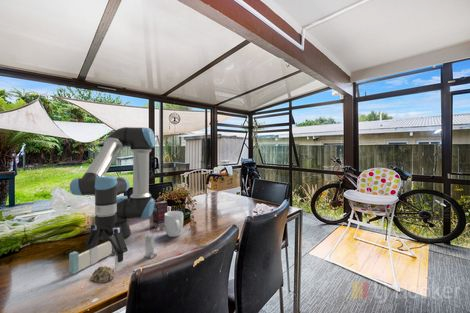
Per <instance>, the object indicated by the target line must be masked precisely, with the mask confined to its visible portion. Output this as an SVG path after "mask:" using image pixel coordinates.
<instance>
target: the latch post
mask: <svg viewBox="0 0 470 313" xmlns="http://www.w3.org/2000/svg"><path fill="white" fill-rule="evenodd" d="M154 240H155V239H154V235H146V236H145V255H143V257H144V258H145V259H149V260H152V259H154V258H155V257H156V256H157V254H156V253H154V252H155V251H154V249H155V248H154V244H155V243H154Z"/></svg>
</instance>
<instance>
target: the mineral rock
mask: <svg viewBox="0 0 470 313" xmlns="http://www.w3.org/2000/svg"><path fill="white" fill-rule="evenodd" d="M114 273H115V269H112V268H111V267H109V266H106V265H105V266H99V267H98V268H96V269H94V271H93V273H92V274H91V276H90V281H92V282H95V283H101V284H103V283H108V282H112V280H113V279H114V277H115V276H114Z"/></svg>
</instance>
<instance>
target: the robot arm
mask: <svg viewBox="0 0 470 313" xmlns="http://www.w3.org/2000/svg"><path fill="white" fill-rule="evenodd" d="M155 146H156V136H155V133H154V130H152V128H150V127H130V126H129V127H126V126H125V127H119V128H118V129H115V130H114V131H112V132H111V133H110V134H109V135H107V137H106V138H105V139H104V140H103V146H102V147H101V149H100V150H99V151H98V153H97V154H96V156H95V157H94V159H93V161H91V164H90V165H89V166H88V168H87V169H86V171H85V172H84V174H83V175H82V177H77V178H74V179H72V180H71V182H70V183H69V191H70V193H71V194H72V195H74V196H94V214H95V216H94V224H92V225H91V226H90V231H89V234H88V236H87V239H86V242H85V244H84V245H85V247H88V249H89V250H90V265H89V266H92V265H94V264H96V263H98V262H99V261H98V243H99V242H100V240H101V241H102V242H104V243H105V242H107V241H110V242H111V246H113V248H114V250H115V251H116V253H117V254H115V256H114V272H118V271H119V270H122V269H123V261H124V253H126V252H128V251H129V250H128V245H127V243H126V241H125V240H126V239H127V238H129V237H130V236H131V234H132V232H131V231H132V230H131V229H130V224H129V222H128V220H136V219H137V220H139V219H141V220H142V219H149V218H150V217H152V216H153V210H154V204H155V203H156V200H155V199H154V198H153V197H152V194H151V193H150V191H149V188H150V186H149V185H150V184H149V183H150V180H149V179H150V153H151V152H152V150H153V148H155ZM123 148H130V151H131V152H132V153H133V154H132V155H133V156H132V161H133V162H132V163H133V164H132V166H133V168H132V169H133V170H132V194H131V195H130V196H129V198H128V196H127V195H122V194H125V193H126V192H127V191H128V190H129V189H130V181H129V179H127V178H126V177H119V176H118V177H117V176H116V175H106V174H107V172H108V170H109V168H110V166H111V164H112V163H113V162H114V160H115V158H116V156H117V155H118V153H119V152H120V151H122V150H123ZM119 195H120V196H119ZM112 235H113V236H112ZM119 250H120V251H119Z"/></svg>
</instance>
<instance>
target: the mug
mask: <svg viewBox="0 0 470 313" xmlns="http://www.w3.org/2000/svg"><path fill="white" fill-rule="evenodd" d="M164 222H165V225H164V229H165V233H166V235H167V236H168V237H170V238H171V237H172V238H174V237H178V236H180V234H181V233H182V230H183V227H184V212H183V211H181V210H180V211H179V210H172V211H167V213H165V221H164Z"/></svg>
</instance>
